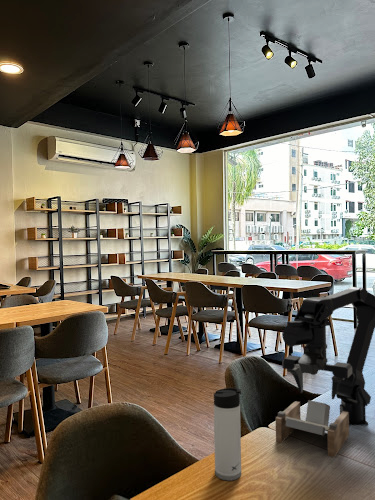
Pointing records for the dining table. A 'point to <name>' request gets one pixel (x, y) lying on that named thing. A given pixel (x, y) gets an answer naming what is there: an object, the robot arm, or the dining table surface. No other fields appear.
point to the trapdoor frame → (335, 432)
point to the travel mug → (227, 434)
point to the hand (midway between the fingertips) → (316, 395)
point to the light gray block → (318, 413)
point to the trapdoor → (306, 426)
